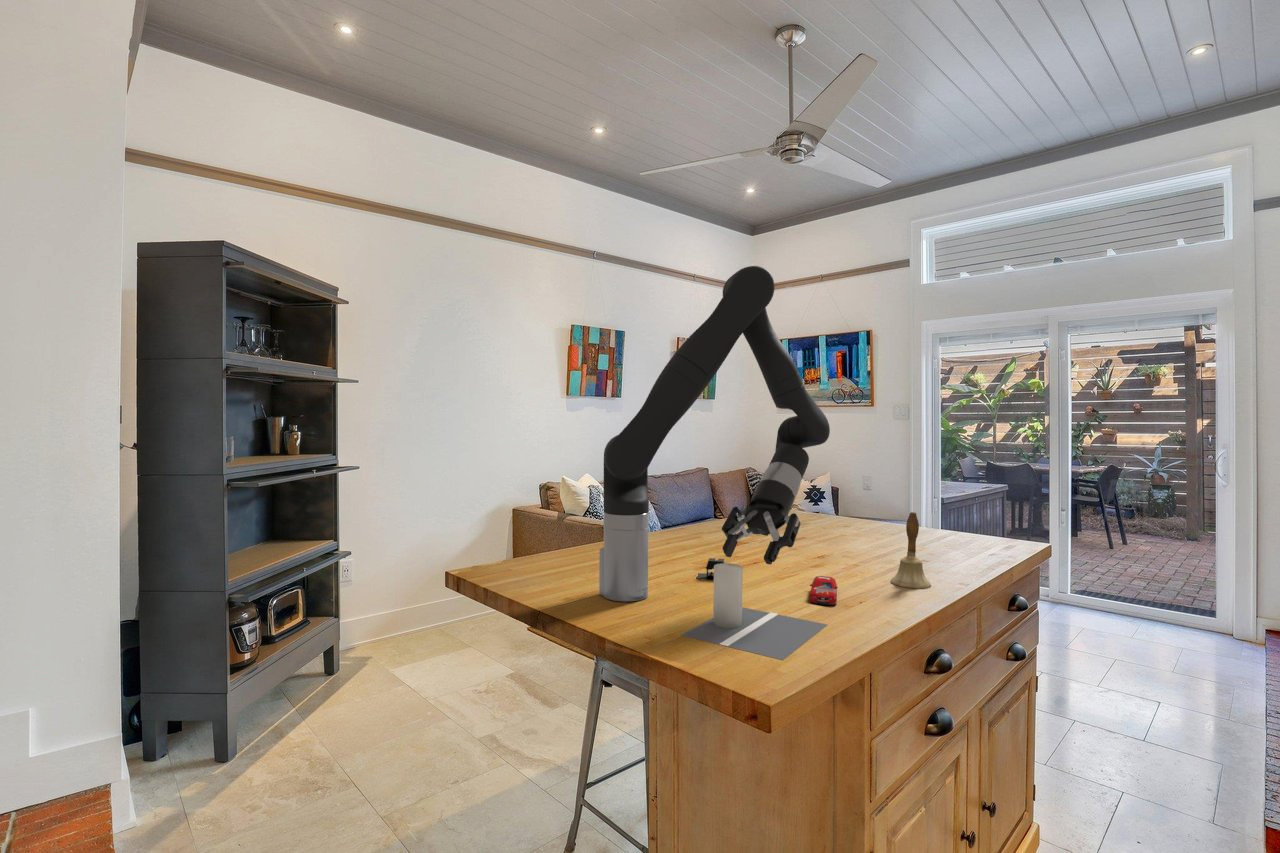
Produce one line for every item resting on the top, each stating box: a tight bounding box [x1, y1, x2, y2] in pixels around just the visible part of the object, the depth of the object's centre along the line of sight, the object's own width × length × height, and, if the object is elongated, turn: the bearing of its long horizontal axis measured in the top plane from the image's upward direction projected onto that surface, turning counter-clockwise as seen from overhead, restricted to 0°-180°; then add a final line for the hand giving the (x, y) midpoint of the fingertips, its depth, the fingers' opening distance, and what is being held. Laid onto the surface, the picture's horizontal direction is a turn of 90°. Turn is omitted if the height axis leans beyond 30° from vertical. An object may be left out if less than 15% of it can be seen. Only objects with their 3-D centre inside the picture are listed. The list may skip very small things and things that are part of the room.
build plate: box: [695, 558, 726, 581], centre depth 143 cm, size 12×7×5 cm, turn 78°
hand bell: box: [890, 511, 932, 590], centre depth 139 cm, size 8×8×16 cm
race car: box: [809, 575, 839, 606], centre depth 128 cm, size 13×5×4 cm, turn 160°
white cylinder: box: [712, 562, 744, 628], centre depth 110 cm, size 5×5×10 cm
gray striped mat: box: [681, 606, 829, 661], centre depth 107 cm, size 18×20×1 cm
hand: (746, 558), depth 114 cm, fingers open, 8 cm apart
